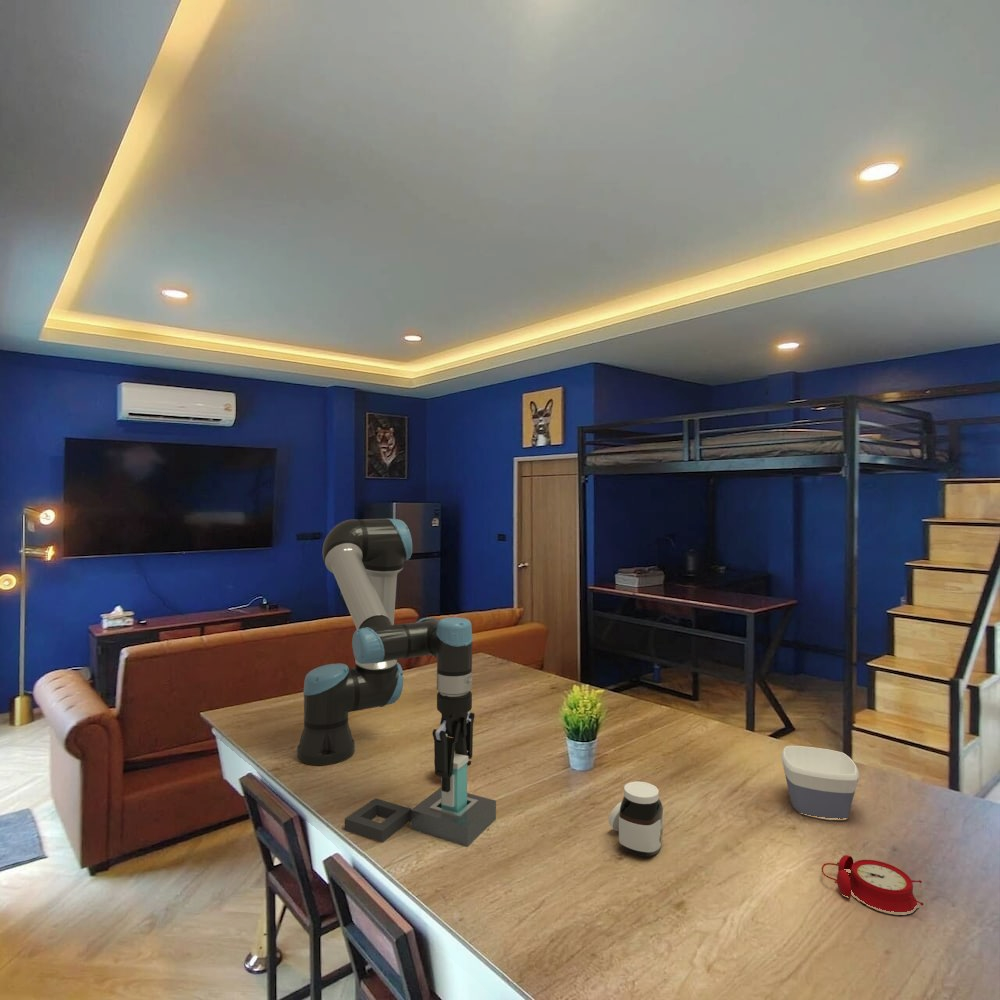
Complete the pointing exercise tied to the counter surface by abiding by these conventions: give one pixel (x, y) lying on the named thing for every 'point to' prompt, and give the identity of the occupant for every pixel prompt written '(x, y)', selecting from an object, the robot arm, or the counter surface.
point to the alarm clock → (876, 884)
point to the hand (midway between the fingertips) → (454, 799)
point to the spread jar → (639, 819)
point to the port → (453, 818)
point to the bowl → (820, 781)
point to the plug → (458, 783)
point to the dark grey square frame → (375, 830)
